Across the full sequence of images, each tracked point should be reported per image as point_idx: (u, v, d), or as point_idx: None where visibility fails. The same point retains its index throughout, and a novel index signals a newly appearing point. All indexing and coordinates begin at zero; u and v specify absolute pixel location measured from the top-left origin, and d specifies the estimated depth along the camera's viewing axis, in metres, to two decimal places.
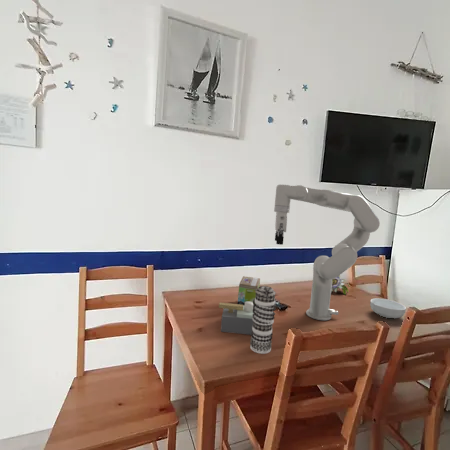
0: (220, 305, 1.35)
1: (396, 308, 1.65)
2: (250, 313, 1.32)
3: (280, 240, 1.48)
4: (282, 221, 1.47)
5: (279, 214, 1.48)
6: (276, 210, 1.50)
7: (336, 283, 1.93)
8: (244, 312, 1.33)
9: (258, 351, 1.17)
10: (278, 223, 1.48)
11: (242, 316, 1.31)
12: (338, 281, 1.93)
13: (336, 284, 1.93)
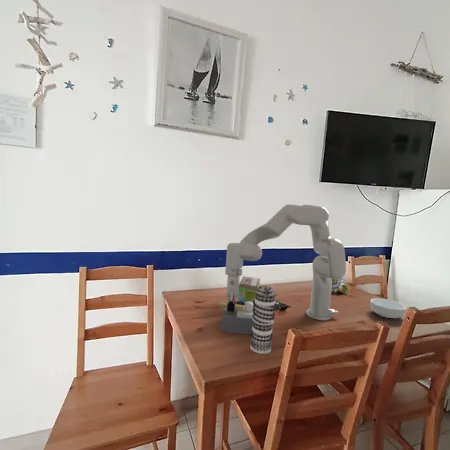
0: (220, 304, 1.35)
1: (396, 308, 1.65)
2: (250, 313, 1.32)
3: (231, 307, 1.34)
4: (233, 286, 1.30)
5: (229, 278, 1.30)
6: (226, 273, 1.32)
7: (336, 283, 1.93)
8: (244, 312, 1.33)
9: (258, 351, 1.17)
10: (228, 288, 1.30)
11: (242, 316, 1.31)
12: (338, 281, 1.93)
13: (336, 284, 1.93)
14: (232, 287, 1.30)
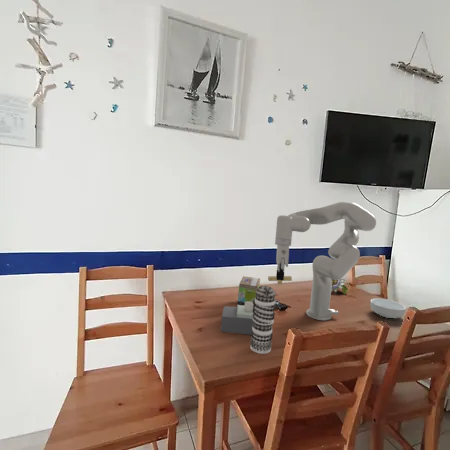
0: (270, 278, 1.44)
1: (396, 308, 1.65)
2: (250, 313, 1.32)
3: (281, 276, 1.42)
4: (284, 255, 1.38)
5: (280, 248, 1.39)
6: (277, 243, 1.40)
7: (336, 283, 1.93)
8: (244, 312, 1.33)
9: (258, 351, 1.17)
10: (279, 257, 1.39)
11: (242, 316, 1.31)
12: (338, 281, 1.93)
13: (336, 284, 1.93)
14: (283, 256, 1.38)
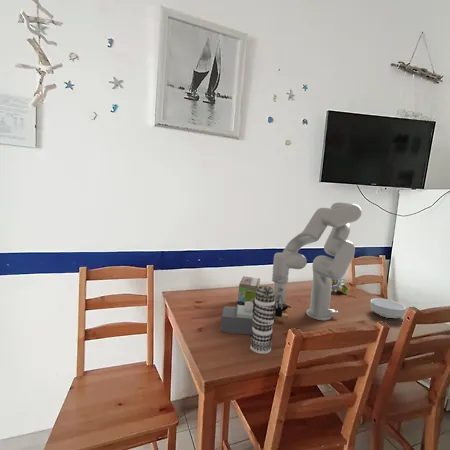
0: None
1: (396, 308, 1.65)
2: (250, 313, 1.32)
3: (279, 313, 1.41)
4: (280, 293, 1.41)
5: (277, 285, 1.41)
6: (274, 280, 1.43)
7: (336, 283, 1.93)
8: (244, 312, 1.33)
9: (258, 351, 1.17)
10: (276, 295, 1.41)
11: (242, 316, 1.31)
12: (338, 281, 1.93)
13: (336, 284, 1.93)
14: (280, 294, 1.41)
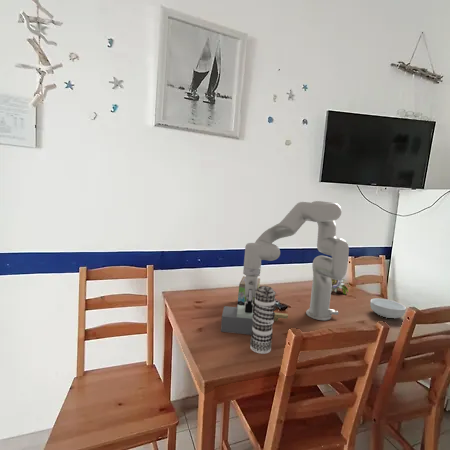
0: None
1: (396, 308, 1.65)
2: (250, 313, 1.32)
3: (249, 308, 1.32)
4: (251, 286, 1.29)
5: (248, 278, 1.29)
6: (245, 273, 1.31)
7: (336, 283, 1.93)
8: (244, 312, 1.33)
9: (258, 351, 1.17)
10: (247, 288, 1.30)
11: (242, 316, 1.31)
12: (338, 281, 1.93)
13: (336, 284, 1.93)
14: (251, 287, 1.29)
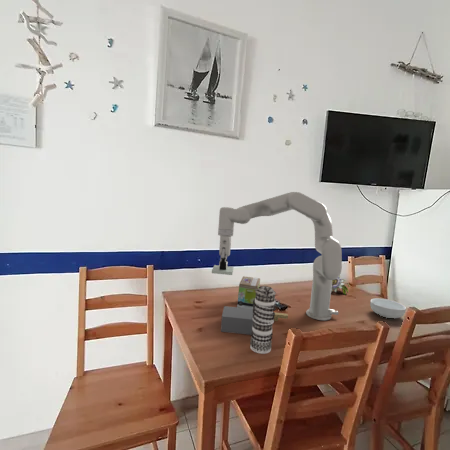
0: None
1: (396, 308, 1.65)
2: (224, 270, 1.48)
3: (223, 265, 1.47)
4: (224, 245, 1.44)
5: (221, 238, 1.45)
6: (219, 233, 1.46)
7: (336, 283, 1.93)
8: (218, 269, 1.48)
9: (258, 351, 1.17)
10: (220, 247, 1.45)
11: (216, 272, 1.46)
12: (338, 281, 1.93)
13: (336, 284, 1.93)
14: (224, 246, 1.44)
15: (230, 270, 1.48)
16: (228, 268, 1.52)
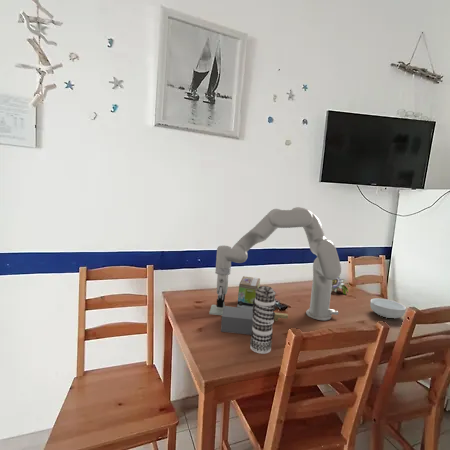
0: None
1: (396, 308, 1.65)
2: (221, 311, 1.50)
3: (220, 303, 1.48)
4: (221, 284, 1.47)
5: (219, 277, 1.47)
6: (216, 272, 1.49)
7: (336, 283, 1.93)
8: (216, 310, 1.51)
9: (258, 351, 1.17)
10: (218, 286, 1.47)
11: (213, 314, 1.49)
12: (338, 281, 1.93)
13: (336, 284, 1.93)
14: (221, 285, 1.47)
15: None
16: None
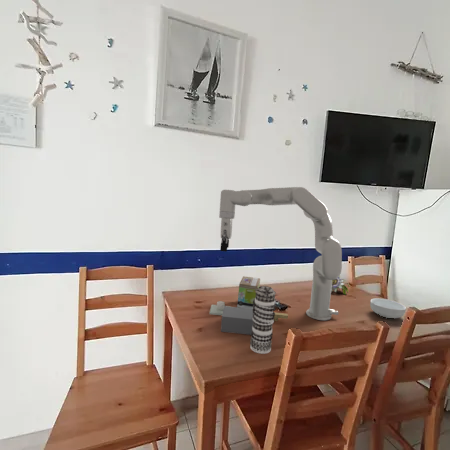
0: None
1: (396, 308, 1.65)
2: (221, 311, 1.50)
3: (224, 247, 1.43)
4: (226, 227, 1.43)
5: (223, 220, 1.44)
6: (220, 216, 1.45)
7: (336, 283, 1.93)
8: (216, 310, 1.51)
9: (258, 351, 1.17)
10: (222, 229, 1.44)
11: (214, 314, 1.49)
12: (338, 281, 1.93)
13: (336, 284, 1.93)
14: (225, 228, 1.43)
15: None
16: None
